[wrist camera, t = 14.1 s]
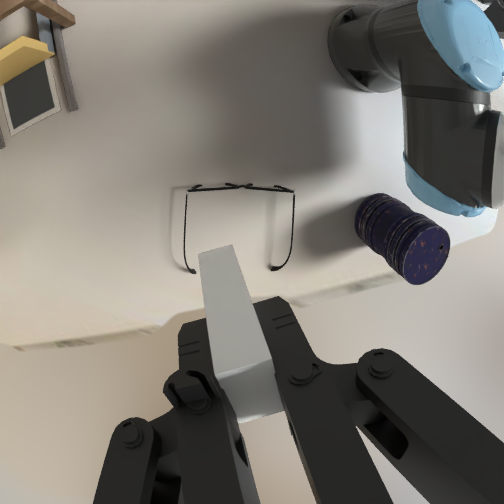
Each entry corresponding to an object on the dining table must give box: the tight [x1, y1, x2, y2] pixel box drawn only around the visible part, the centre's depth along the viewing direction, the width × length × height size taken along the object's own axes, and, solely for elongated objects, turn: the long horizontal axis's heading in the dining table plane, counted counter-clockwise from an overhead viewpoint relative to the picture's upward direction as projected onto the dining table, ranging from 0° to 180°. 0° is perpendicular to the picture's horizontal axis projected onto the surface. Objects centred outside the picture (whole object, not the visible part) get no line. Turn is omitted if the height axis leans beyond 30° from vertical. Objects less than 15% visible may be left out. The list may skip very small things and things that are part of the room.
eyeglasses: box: [184, 183, 295, 274], centre depth 47 cm, size 16×16×4 cm
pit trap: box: [0, 58, 61, 136], centre depth 31 cm, size 10×12×1 cm
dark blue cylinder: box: [354, 193, 450, 285], centre depth 46 cm, size 10×10×15 cm
